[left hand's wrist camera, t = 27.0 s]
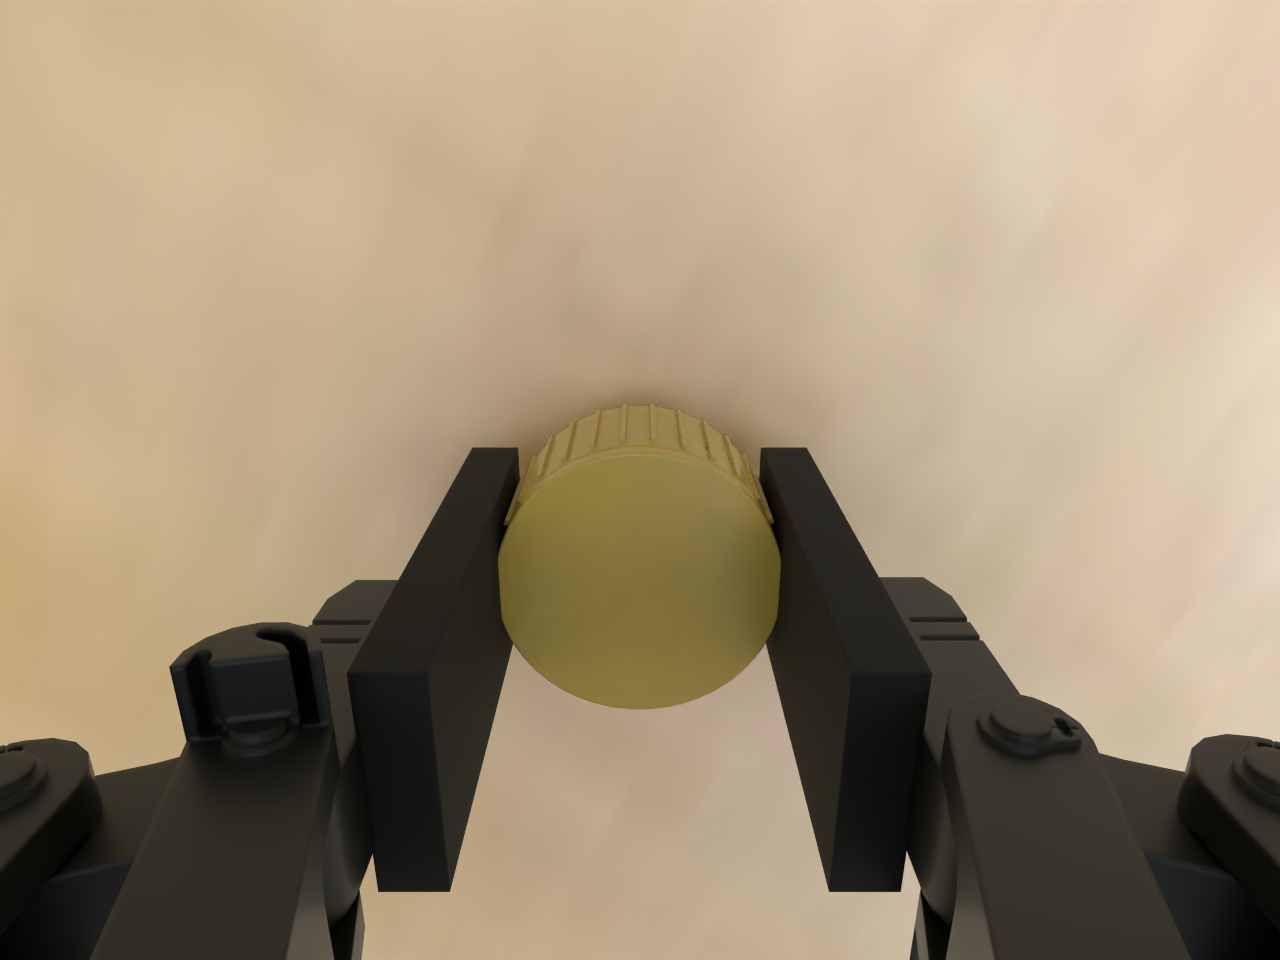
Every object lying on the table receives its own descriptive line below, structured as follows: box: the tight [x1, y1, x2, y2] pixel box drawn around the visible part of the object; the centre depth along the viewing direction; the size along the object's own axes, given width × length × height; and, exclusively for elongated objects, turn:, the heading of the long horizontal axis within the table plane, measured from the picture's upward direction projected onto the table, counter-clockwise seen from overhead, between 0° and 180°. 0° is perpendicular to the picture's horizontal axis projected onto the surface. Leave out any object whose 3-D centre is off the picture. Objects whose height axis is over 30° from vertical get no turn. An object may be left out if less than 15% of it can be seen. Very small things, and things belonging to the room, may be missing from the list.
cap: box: [498, 404, 781, 709], centre depth 13 cm, size 4×4×2 cm
